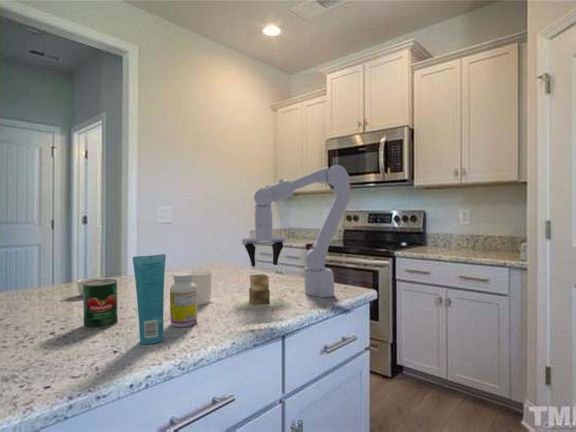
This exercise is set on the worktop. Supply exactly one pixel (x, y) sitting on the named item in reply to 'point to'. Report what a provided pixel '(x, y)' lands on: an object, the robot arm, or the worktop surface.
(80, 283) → the teacup
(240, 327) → the worktop surface
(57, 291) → the worktop surface
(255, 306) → the build board
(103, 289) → the canned tomato
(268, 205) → the robot arm
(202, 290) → the white cup
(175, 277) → the supplement bottle
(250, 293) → the walnut block
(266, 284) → the oak block
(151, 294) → the tube
